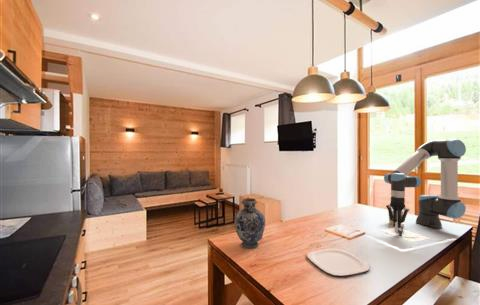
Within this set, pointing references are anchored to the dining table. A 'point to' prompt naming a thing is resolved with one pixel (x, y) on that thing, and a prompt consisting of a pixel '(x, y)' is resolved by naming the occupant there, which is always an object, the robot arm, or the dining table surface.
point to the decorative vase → (249, 224)
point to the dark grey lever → (401, 229)
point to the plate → (337, 262)
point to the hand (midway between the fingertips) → (396, 232)
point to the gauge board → (406, 235)
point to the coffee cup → (397, 217)
